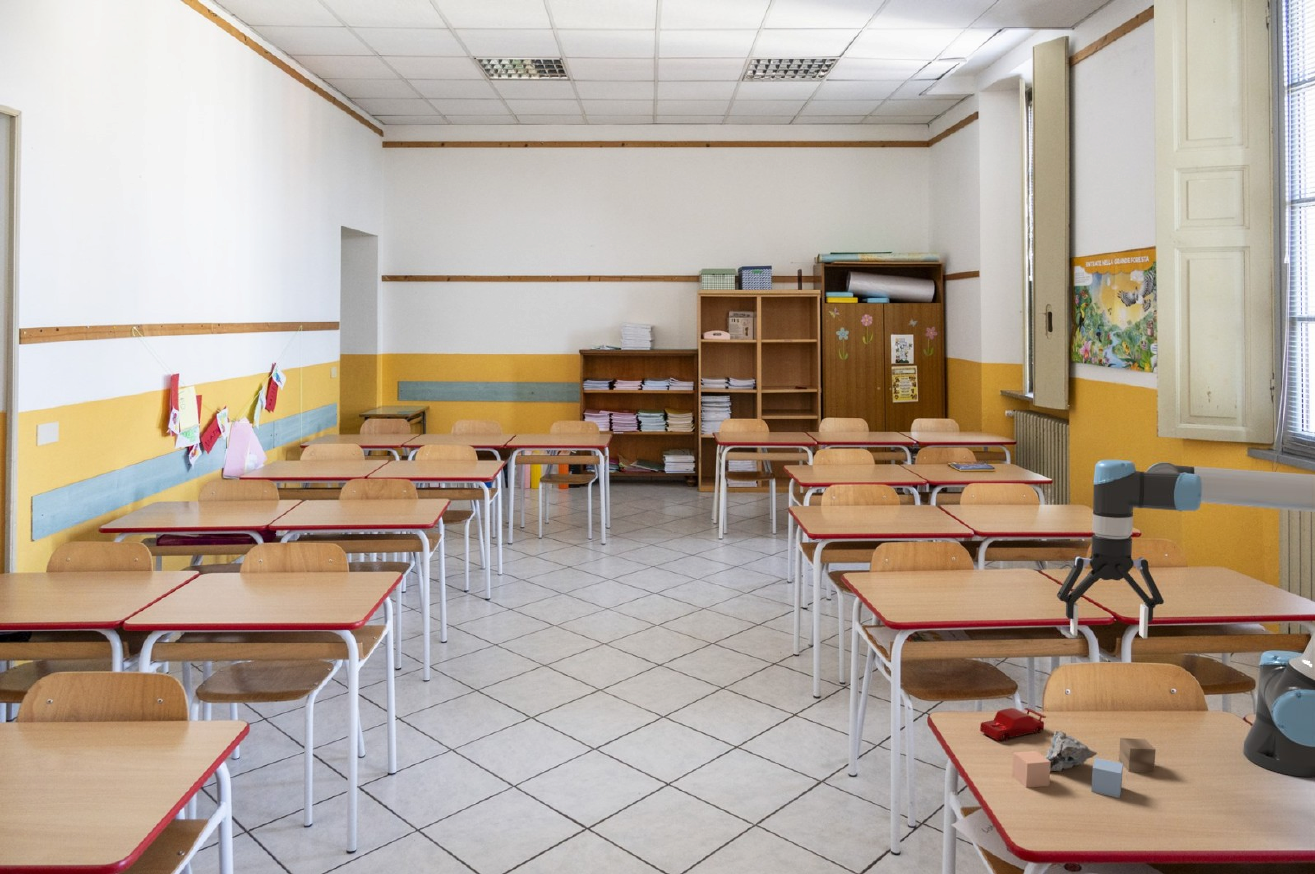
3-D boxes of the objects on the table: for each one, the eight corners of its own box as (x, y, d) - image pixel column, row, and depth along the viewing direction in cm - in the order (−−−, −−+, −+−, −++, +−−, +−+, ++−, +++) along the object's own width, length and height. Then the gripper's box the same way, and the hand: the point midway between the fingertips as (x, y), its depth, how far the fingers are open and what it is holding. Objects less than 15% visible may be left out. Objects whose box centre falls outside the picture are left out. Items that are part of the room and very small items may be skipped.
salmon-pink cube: (1034, 774, 196) (1036, 750, 195) (1049, 785, 191) (1050, 761, 191) (1012, 776, 195) (1013, 752, 195) (1026, 787, 190) (1027, 763, 190)
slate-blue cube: (1121, 787, 191) (1122, 763, 190) (1119, 798, 186) (1121, 773, 186) (1093, 781, 193) (1095, 757, 193) (1091, 791, 189) (1092, 767, 188)
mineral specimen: (1052, 783, 203) (1078, 792, 193) (1023, 757, 203) (1047, 764, 193) (1079, 747, 205) (1106, 754, 195) (1050, 721, 205) (1075, 726, 195)
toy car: (1026, 724, 221) (1027, 703, 221) (1045, 733, 216) (1046, 712, 216) (979, 734, 216) (980, 713, 215) (997, 744, 210) (998, 722, 210)
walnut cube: (1143, 761, 202) (1145, 738, 202) (1153, 772, 197) (1155, 749, 197) (1118, 760, 203) (1120, 737, 202) (1128, 771, 198) (1130, 748, 197)
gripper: (1170, 532, 201) (1166, 631, 204) (1044, 530, 206) (1041, 627, 208) (1183, 540, 194) (1179, 643, 196) (1052, 537, 198) (1049, 638, 201)
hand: (1108, 635), depth 202 cm, fingers open, 13 cm apart
